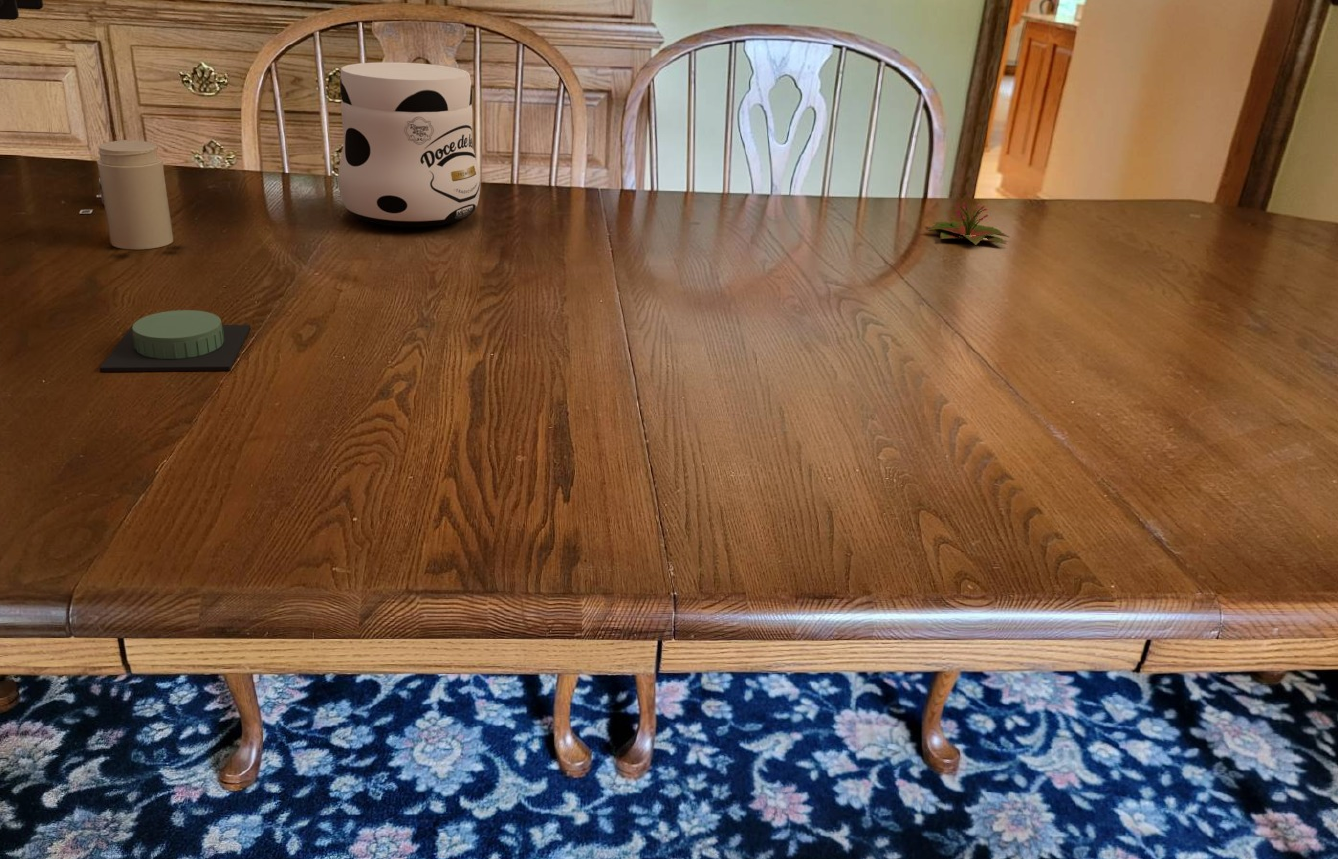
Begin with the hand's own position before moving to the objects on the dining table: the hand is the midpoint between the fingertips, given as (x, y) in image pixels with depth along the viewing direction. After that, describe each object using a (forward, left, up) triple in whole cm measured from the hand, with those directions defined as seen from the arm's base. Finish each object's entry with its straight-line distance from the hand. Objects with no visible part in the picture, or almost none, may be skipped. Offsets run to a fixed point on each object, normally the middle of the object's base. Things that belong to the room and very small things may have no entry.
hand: (9, 13), depth 87 cm
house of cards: (-7, +40, -26) cm, 48 cm away
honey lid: (+12, -10, -24) cm, 29 cm away
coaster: (+12, -10, -26) cm, 30 cm away
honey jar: (+1, +23, -26) cm, 34 cm away
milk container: (+30, +35, -26) cm, 53 cm away
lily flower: (+104, +30, -26) cm, 111 cm away
